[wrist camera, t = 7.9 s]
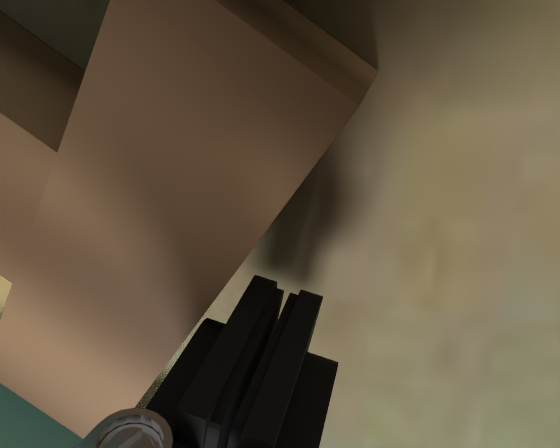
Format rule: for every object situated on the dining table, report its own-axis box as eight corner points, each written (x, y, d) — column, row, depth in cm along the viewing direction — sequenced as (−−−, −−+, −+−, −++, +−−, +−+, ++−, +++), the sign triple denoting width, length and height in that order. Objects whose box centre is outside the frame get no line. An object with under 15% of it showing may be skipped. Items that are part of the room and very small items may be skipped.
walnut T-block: (-133, -310, 9) (-367, -429, 6) (378, 70, 9) (359, 106, 7) (-149, 165, 15) (-268, 203, 12) (155, 373, 16) (102, 451, 13)
